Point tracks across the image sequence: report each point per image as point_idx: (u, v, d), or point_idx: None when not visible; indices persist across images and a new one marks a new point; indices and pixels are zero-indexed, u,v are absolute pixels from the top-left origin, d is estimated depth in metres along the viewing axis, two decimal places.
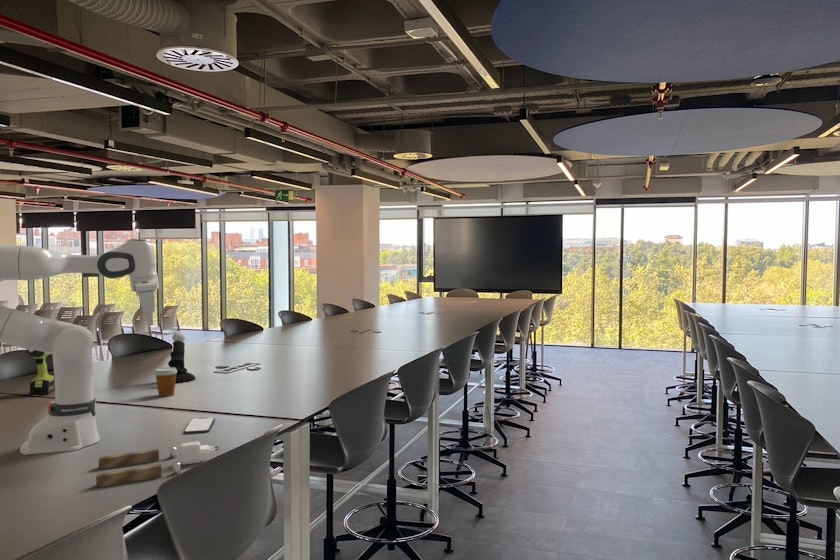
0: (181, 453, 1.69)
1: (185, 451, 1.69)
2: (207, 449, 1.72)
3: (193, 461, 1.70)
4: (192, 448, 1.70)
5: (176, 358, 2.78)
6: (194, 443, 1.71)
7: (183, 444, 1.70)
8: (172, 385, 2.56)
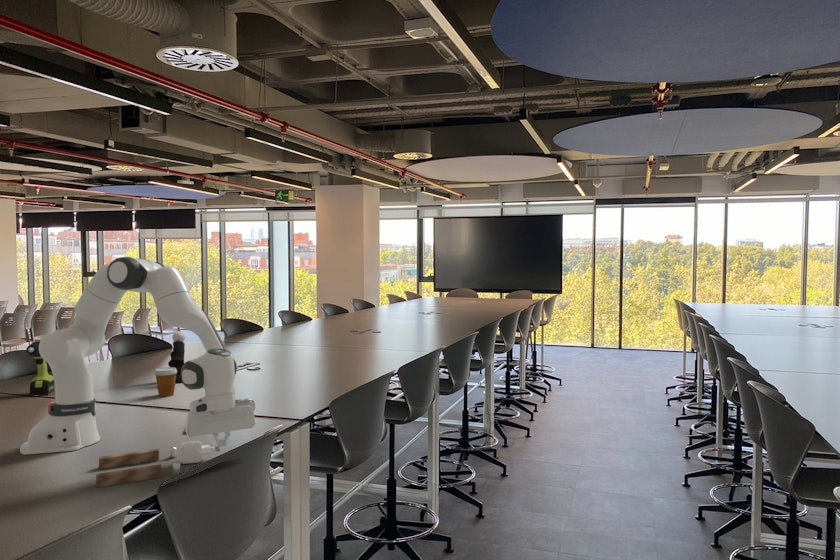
0: (182, 452, 1.69)
1: (186, 450, 1.69)
2: (208, 449, 1.72)
3: (193, 460, 1.70)
4: (193, 447, 1.70)
5: (176, 358, 2.78)
6: (195, 442, 1.71)
7: (184, 443, 1.71)
8: (172, 385, 2.56)
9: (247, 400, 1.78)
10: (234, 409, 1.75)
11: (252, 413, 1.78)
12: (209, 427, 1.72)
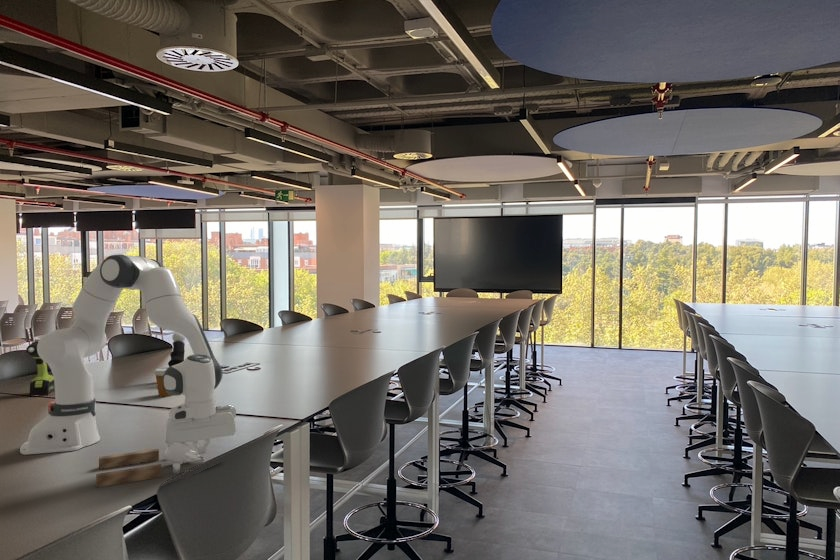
0: (170, 448, 1.67)
1: (175, 447, 1.68)
2: (194, 455, 1.70)
3: (176, 461, 1.68)
4: (183, 448, 1.68)
5: (176, 358, 2.78)
6: (186, 444, 1.70)
7: None
8: None
9: (228, 407, 1.76)
10: (214, 416, 1.73)
11: (233, 420, 1.75)
12: (189, 435, 1.69)
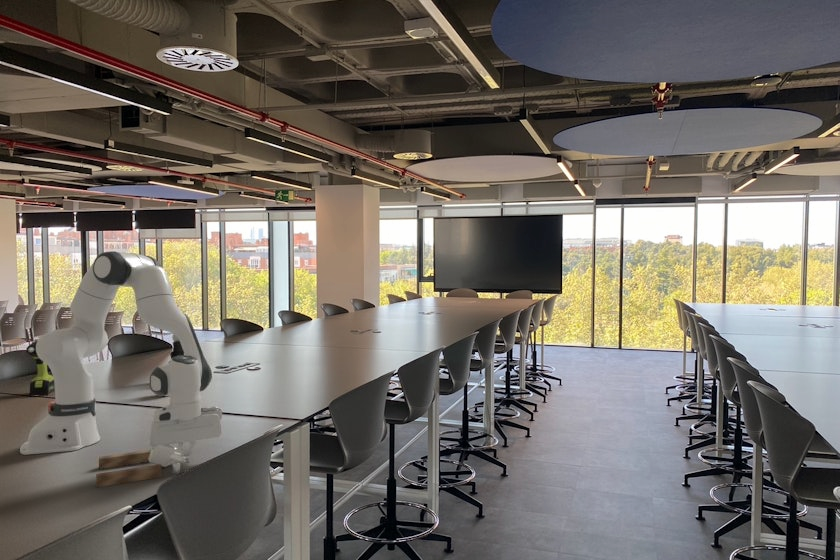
0: (155, 450, 1.65)
1: (159, 450, 1.65)
2: (179, 457, 1.68)
3: (161, 463, 1.66)
4: (167, 450, 1.66)
5: None
6: (170, 446, 1.68)
7: None
8: None
9: (213, 408, 1.74)
10: (200, 418, 1.71)
11: (218, 422, 1.73)
12: (173, 437, 1.67)
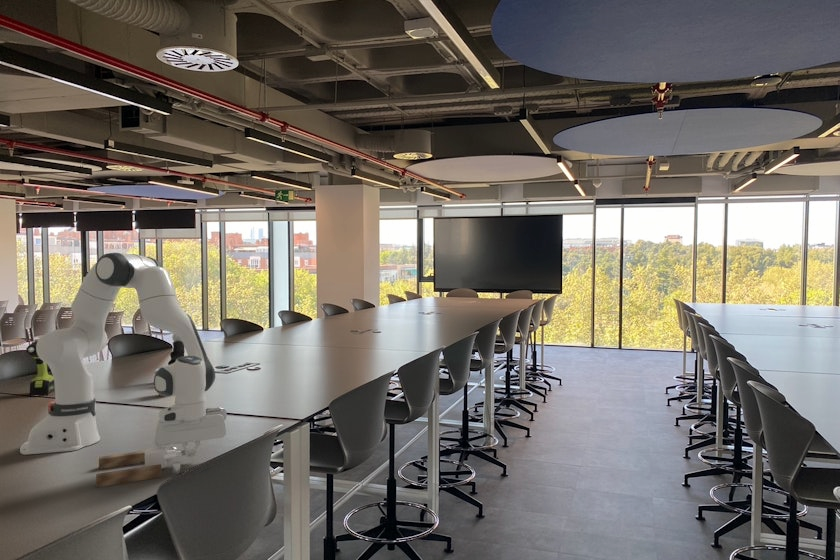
0: (146, 459, 1.64)
1: (150, 456, 1.64)
2: (173, 454, 1.67)
3: None
4: (158, 453, 1.65)
5: (176, 358, 2.78)
6: (160, 448, 1.67)
7: (148, 449, 1.66)
8: None
9: (218, 409, 1.74)
10: (204, 418, 1.71)
11: (223, 422, 1.74)
12: (178, 437, 1.68)
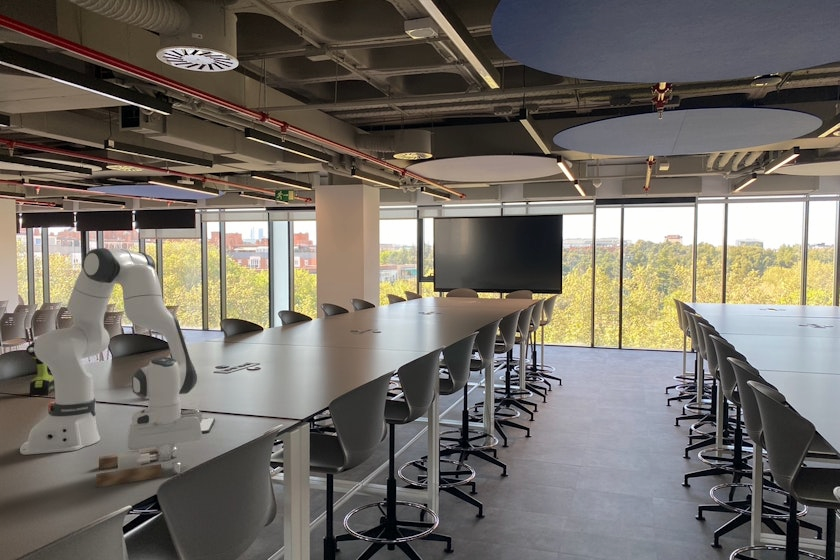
0: (119, 463, 1.61)
1: (123, 460, 1.61)
2: (147, 458, 1.64)
3: None
4: (131, 457, 1.62)
5: None
6: (133, 452, 1.63)
7: (121, 453, 1.62)
8: None
9: (193, 411, 1.71)
10: (179, 421, 1.68)
11: (198, 425, 1.71)
12: (152, 440, 1.65)
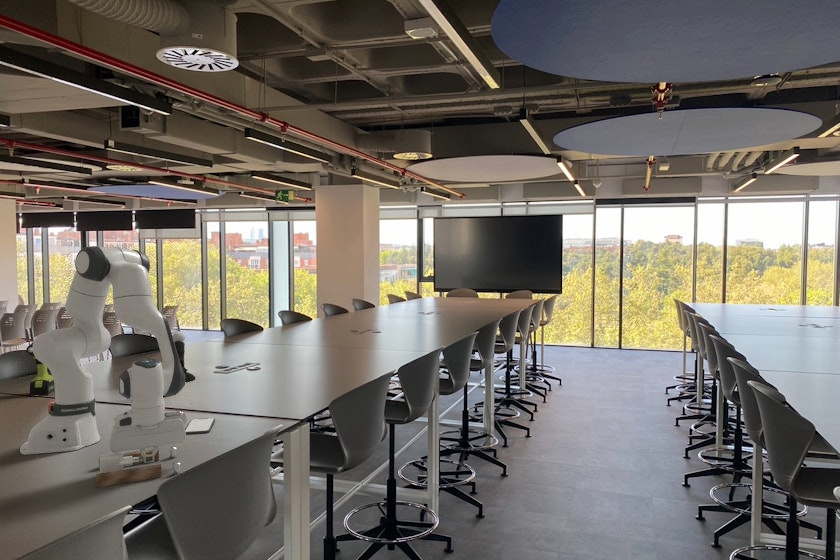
0: (101, 465, 1.59)
1: (105, 463, 1.59)
2: (130, 460, 1.62)
3: None
4: (113, 460, 1.60)
5: None
6: (116, 454, 1.61)
7: (103, 456, 1.60)
8: None
9: (178, 413, 1.69)
10: (163, 423, 1.66)
11: (183, 427, 1.69)
12: (135, 442, 1.63)
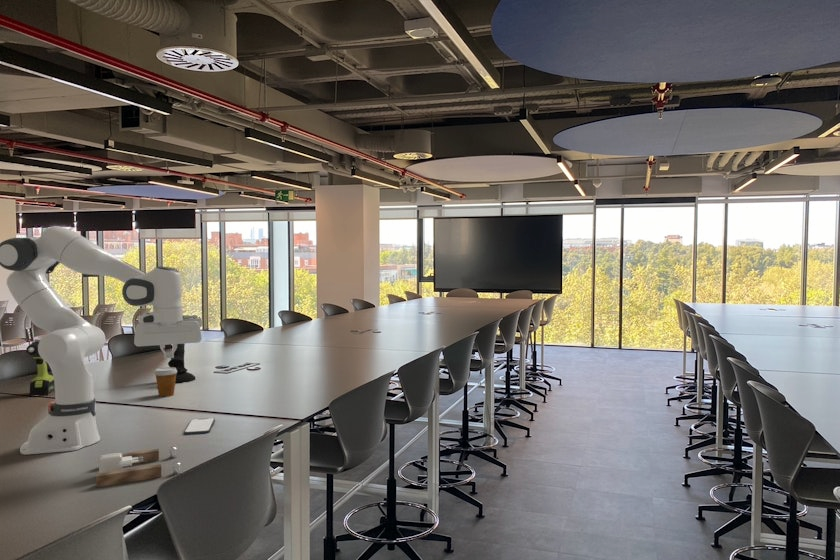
0: (100, 466, 1.59)
1: (105, 463, 1.59)
2: (129, 460, 1.62)
3: None
4: (113, 460, 1.60)
5: (176, 358, 2.78)
6: (115, 454, 1.61)
7: (103, 456, 1.60)
8: (172, 385, 2.56)
9: (194, 316, 1.89)
10: (181, 323, 1.86)
11: (198, 328, 1.89)
12: (156, 339, 1.83)
